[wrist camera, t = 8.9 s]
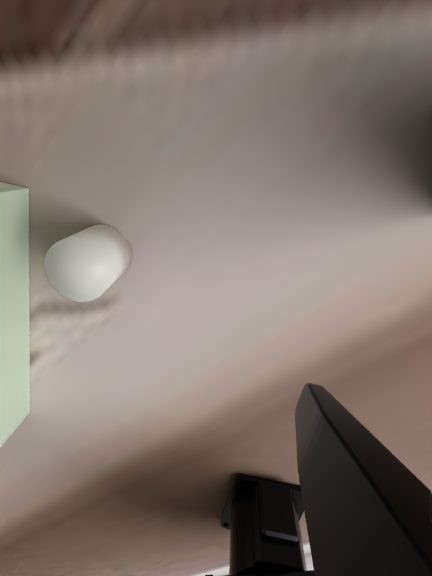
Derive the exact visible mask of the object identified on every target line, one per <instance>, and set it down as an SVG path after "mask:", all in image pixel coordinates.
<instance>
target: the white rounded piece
mask: <svg viewBox="0 0 432 576" xmlns="http://www.w3.org/2000/svg"><path fill="white" fill-rule="evenodd" d="M131 259H132V250H131V246H130V244H129V242H128V240H127V238H126V237H125V236H124V235H123V234H122V233H121V232H120V231H119V230H118V229H116V228H114V227H112V226H109V225H104V224H98V225H93V226H91V227H89V228H86V229H84V230H82V231H80V232H78V233H75V234H73V235H71V236H69V237H67V238H64V239H62V240H60V241H58V242H56V243H55V244H53V245H52V246H51V247H50V248H49V249H48V251H47V253H46V255H45V259H44V270H45V274H46V277H47V279H48V281H49V283H50V284H51V286H52V287H53V288H54V289H55V290H56V291H57V292H58V293H59V294H61V295H62V296H64V297H66V298H68V299H70V300H73V301H78V302H87V301H92V300H94V299H96V298H98V297H99V296H101V295H102V294H103V293H104V292H105V291H106V290H107V289H108V288H109V287H110V286H111V285H112V284H113V283H114V282H115V281H116V280H117V279H118V278H119V277H120V276H121V275H122V274H123V273H124V272H125V271H126V270H127V269H128V267H129V265H130V263H131Z"/></svg>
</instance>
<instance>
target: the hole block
mask: <svg viewBox="0 0 432 576" xmlns="http://www.w3.org/2000/svg"><path fill="white" fill-rule="evenodd" d="M29 412H30V292H29V188H25V187H21V186H16V185H12V184H7V183H3V182H0V447H1V446H2V445H3V444H4V442H5V441H6V440H7V439H8V438H9V436H10V435H11V434H12V433H13V432H14V430H15V429H16V428H17V427H18V426H19V424H20V423H21V422H22V421H23V420H24V418H25V417H26V416H27V415H28V413H29Z"/></svg>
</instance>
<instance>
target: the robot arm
mask: <svg viewBox="0 0 432 576" xmlns="http://www.w3.org/2000/svg"><path fill="white" fill-rule="evenodd" d="M295 423H296V443H297V462H298V473H299V481H300V487H297V486H292V485H288V484H283V483H278V482H274V481H269V480H264V479H260V478H255V477H250V476H246V475H240V474H239V475H237V476H235V478H234V481H233V484H232V487H231V490H230V493H229V496H228V499H227V502H226V505H225V508H224V511H223V514H222V517H221V526H222V527H223V528H226V529H231V532H230V571H229V575H226V576H432V493H431V491H430V490H429V489H428V488H427V487H426V486H425V485H424V484H423V483H422V482H421V481H420V480H419V479H418V478H417V477H416V476H415V475H414V474H413V473H412V472H411V471H410V470H409V469H408V468H407V467H406V466H405V465H403V464H402V463H401V462H400V461H399V460H398V459H397V458H396V457H395V456H394V455H393V454H392V453H391V452H390V451H389V450H388V449H387V448H386V447H385V446H384V445H383V444H382V443H381V442H380V441H379V440H378V439H377V438H376V437H374V436H373V435H372V434H371V433H370V432H369V431H368V430H367V429H366V428H365V427H364V426H363V425H362V424H361V423H360V422H359V421H358V420H357V419H356V418H355V417H354V416H353V415H352V414H351V413H350V412H349V411H348V410H347V409H345V408H344V407H343V406H342V405H341V404H340V403H339V402H338V401H337V400H336V399H335V398H334V397H333V396H332V395H331V394H330V393H329V392H328V391H327V390H326V389H325V388H324V387H323V386H321V385H316V384H312V383H307V384H305V386H304V388H303V390H302V393H301V395H300V398H299V401H298V403H297V406H296V410H295ZM304 511H305V518H306V524H307V530H308V536H309V542H310V548H311V554H312V561H313V567H314V570H313V571H307V568H306V562H305V556H304V550H303V544H302V538H301V531H300V525H299V520H300V518H301V516H302V514H303V512H304ZM205 576H213V575H205Z"/></svg>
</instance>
